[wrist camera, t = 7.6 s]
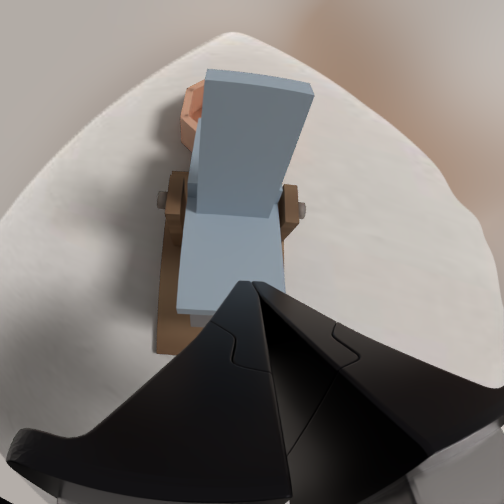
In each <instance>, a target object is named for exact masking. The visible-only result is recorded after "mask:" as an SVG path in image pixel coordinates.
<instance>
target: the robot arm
mask: <svg viewBox="0 0 504 504" xmlns="http://www.w3.org/2000/svg"><path fill="white" fill-rule="evenodd" d="M503 425H504V386H502V387H501V388H495V389H493V388H488V387H485V386H482V385H480V384H477V383H475V382H472V381H470V380H467V379H465V378H462V377H460V376H457V375H455V374H452V373H450V372H447V371H445V370H443V369H440V368H438V367H435V366H433V365H431V364H428V363H426V362H423V361H421V360H419V359H416V358H414V357H412V356H409V355H407V354H405V353H402V352H400V351H398V350H395V349H393V348H391V347H388V346H386V345H384V344H382V343H379V342H377V341H375V340H373V339H371V338H368V337H366V336H364V335H362V334H360V333H358V332H356V331H354V330H352V329H350V328H348V327H346V326H344V325H343V324H341V323H339V322H337V323H336V321H334V320H332V319H331V318H329V317H327V316H325V315H323V314H321V313H320V312H318V311H316V310H314V309H312V308H310V307H309V306H307V305H305V304H303V303H301V302H300V301H298V300H296V299H294V298H292V297H291V296H289V295H287V294H285V293H283V292H282V291H280V290H278V289H276V288H274V287H273V286H271V285H269V284H267V283H266V282H263V281H252V282H250V281H242V280H239V281H238V282H237V283H236V284H235V286H234V287H233V289H232V290H231V291H230V293H229V294H228V296H227V297H226V298H225V300H224V301H223V302H222V304H221V305H220V307H219V308H218V309H217V311H216V312H215V313H214V315H213V316H212V318H211V319H210V320H209V322H208V323H207V324H206V325H205V327H204V328H203V329H202V331H201V332H200V333H199V334H198V335H197V337H196V338H195V339H194V340H193V341H192V342H191V343H190V344H189V345H188V346H187V347H185V348H184V349H183V350H182V351H181V352H180V353H179V354H178V355H177V356H176V357H174V358H173V359H172V360H171V361H170V362H169V363H168V364H167V365H166V366H164V367H163V368H162V369H161V370H160V371H159V372H158V373H157V374H155V375H154V376H153V377H152V378H151V379H150V380H149V381H148V382H146V383H145V384H144V385H143V386H142V387H141V388H140V389H139V390H137V391H136V392H135V393H134V394H133V395H132V396H131V397H129V398H128V399H127V400H126V401H125V402H124V403H123V404H121V405H120V406H119V407H118V408H117V409H116V410H115V411H113V412H112V413H111V414H110V415H109V416H108V417H106V418H105V419H104V420H103V421H102V422H101V423H99V424H98V425H97V426H96V427H95V428H94V429H92V430H91V431H90V432H88V433H86V434H85V435H82V436H79V437H72V438H66V437H60V436H57V435H54V434H50V433H47V432H44V431H40V430H36V429H31V428H24V429H21V430H19V432H18V433H17V434H16V436H15V437H14V439H13V442H12V443H11V446H10V448H9V451H8V455H7V458H6V462H7V464H8V465H9V466H10V467H11V468H12V469H13V470H15V471H16V472H17V473H19V474H20V475H21V476H23V477H24V478H26V479H27V480H29V481H30V482H32V483H33V484H35V485H36V486H38V487H39V488H41V489H42V490H44V491H46V492H47V493H49V494H51V495H52V496H54V497H56V498H57V504H285V503H286V502H288V501H289V500H290V504H504V433H503V431H502V429H501V427H502V426H503ZM0 504H12V503H10V502H9V501H7V500H5V499H3V498H1V497H0Z"/></svg>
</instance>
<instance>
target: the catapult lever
mask: <svg viewBox="0 0 504 504" xmlns="http://www.w3.org/2000/svg"><path fill="white" fill-rule="evenodd" d="M313 98H314V93H313V90H312V88H311V85H310V83H305V82H301V81H296V80H290V79H285V78H279V77H273V76H267V75H260V74H253V73H245V72H236V71H226V70H215V69H207V72H206V77H205V82H204V93H203V104H202V116H201V118H199V119H198V124H197V129H196V135H195V140H194V146H193V152H192V158H191V164H190V170H189V176H188V197H187V205H186V213H185V221H184V229H183V238H182V248H181V258H180V268H179V280H178V292H177V306H176V309H177V314H190V322H191V327H205V325H206V324H207V323H208V322H209V320H210V319H211V318H212V316H213V315H214V313H215V312H216V311H217V309H218V308H219V307H220V305H221V304H222V302H223V301H224V300H225V298H226V297H227V296H228V294H229V293H230V291H231V290H232V289H233V287H234V286H235V284H236V283H237V282H238V281H239V280H242V281H250V282H252V281H263V282H266V283H267V284H269V285H271V286H273V287H274V288H276V289H278V290H280V291H282V292H283V293H285V294H286V291H285V279H284V267H283V256H282V245H281V234H280V223H279V213H278V202H279V199H280V197H281V194H282V191H283V189H282V182H283V179H284V176H285V174H286V171H287V168H288V166H289V163H290V160H291V157H292V155H293V152H294V149H295V147H296V144H297V141H298V139H299V136H300V133H301V131H302V128H303V125H304V122H305V120H306V117H307V114H308V112H309V109H310V106H311V104H312V101H313Z"/></svg>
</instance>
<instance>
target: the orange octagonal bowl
mask: <svg viewBox="0 0 504 504" xmlns="http://www.w3.org/2000/svg"><path fill="white" fill-rule="evenodd" d="M204 82H205V79H204V80H202V81H200V82H198V83H196V84H194V85H192V86H190V87H189V88H187V90H186V94H185V98H184V103H183V107H182V112H181V117H180V123H181V142H182V143H183V144H184V145H185V146H186V147H187V148H188V149H189V150H190V151H191V152H193V146H194V140H195V135H196V129H197V124H198V119H199V118H201V116H202V104H203V93H204Z"/></svg>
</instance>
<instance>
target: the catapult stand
mask: <svg viewBox="0 0 504 504" xmlns="http://www.w3.org/2000/svg"><path fill="white" fill-rule="evenodd" d="M188 176H189V172H181V171H172V175H170V180H169V187H168V192H161V191H159V193H158V199H157V207H158V209H165V216H166V221H165V230H164V239H163V249H162V260H161V271H160V285H159V300H158V321H157V354H169V355H178V354H179V353H180V352H181V351H182V350H183V349H184V348H185V347H187V346H188V345H189V344H190V343H191V342H192V341H193V340H194V339H195V338H196V337H197V335H198V334H199V333H200V332H201V331H202V329H203V328H204V327H191V322H190V314H177V309H176V306H177V292H178V280H179V268H180V258H181V248H182V238H183V229H184V221H185V213H186V205H187V197H188ZM282 189H283V191H282V194H281V197H280V199H279V202H278V213H279V223H280V234H281V245H282V256H283V267H284V239H285V238H286V237H287V236H288V235H289V234H290V233H291V232H292V231H293V230H294V228H295V227H296V226H297V225H298V224H299V219H303V218H304V217H305V213H306V206H305V203H301V202H298V189H297V186H296V185H288V184H284V185H283V187H282Z"/></svg>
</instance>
